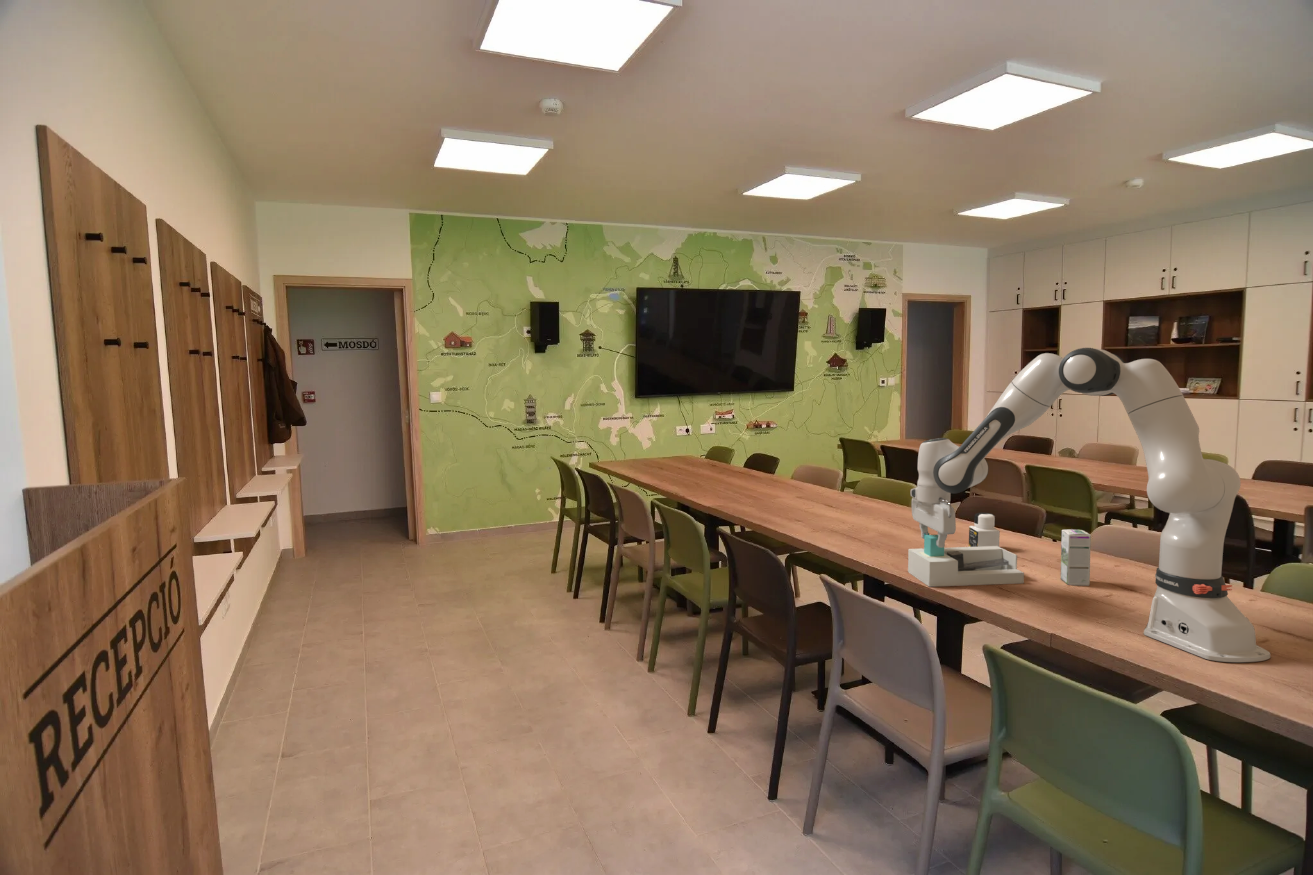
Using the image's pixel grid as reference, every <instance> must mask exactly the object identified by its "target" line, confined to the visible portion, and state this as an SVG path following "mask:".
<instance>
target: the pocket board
mask: <svg viewBox="0 0 1313 875" xmlns="http://www.w3.org/2000/svg"><path fill="white" fill-rule="evenodd" d="M953 551H959V552H961V553H962V554H963V561H964V564H966V563H973V562H981V561H988V560H996V559H1005V560H1007V561H1008V562H1009V565H1002V566H994V567H987V568H979V569H972V570H965V571H958V561H957V560H955V559H953V558H952V557H950V556H948V555H947V552H953ZM907 555H908V556H907V557H908V559H907V560H908V563H907V564H908V565H907V572H908V573H909V574H910V575H912V576H913V577H915V578H916V579H917V580H919V581H920V582H922V583H923V584H924V585H926V586H928V587H956V586H957V587H958V586H959V587H960V586H985V585H986V586H987V585H1009V584H1011V585H1012V584H1025V582H1024V581H1025V572H1023V571H1021V570H1019V569H1018V555H1017V554H1015V553H1014V552H1011V551H1008V550H1006V549H1005V548H1002V547H1000V546H999V547H998V546H981V547H969V546H956V547H944V556H929V555H927V554H925V553H924V547H923V548H908V554H907Z"/></svg>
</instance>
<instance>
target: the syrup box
mask: <svg viewBox="0 0 1313 875" xmlns="http://www.w3.org/2000/svg"><path fill="white" fill-rule="evenodd" d="M1091 537H1092V534H1090V533H1088V532H1087V531H1085V530H1083V529H1073V528H1071V529H1062V530H1061V544H1060V549H1061V550H1060V580H1062V581H1063V582H1064V583H1065V584H1066V585H1067V586H1078V587H1079V586H1080V587H1081V586H1082V587H1083V586H1084V587H1089V586H1090V582H1091V578H1090V576H1091V547H1092V546H1091V545H1092V544H1091V540H1092V538H1091Z"/></svg>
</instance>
